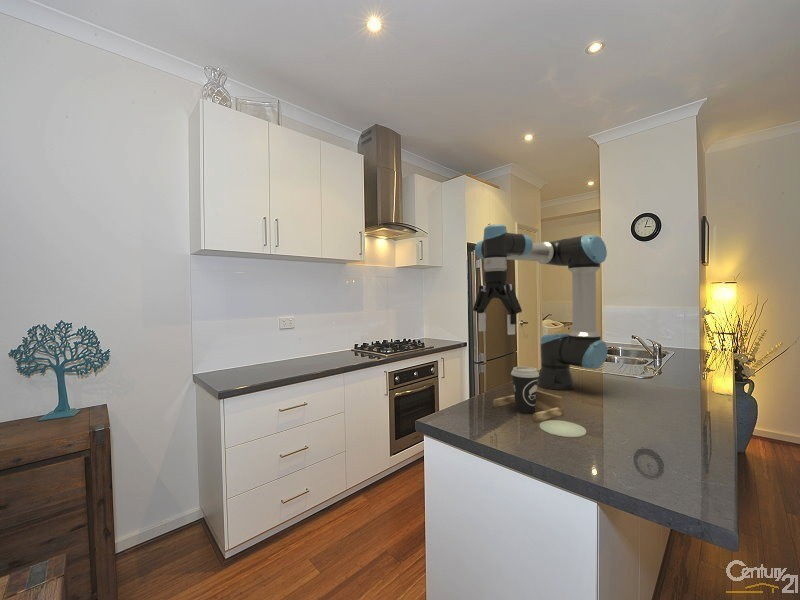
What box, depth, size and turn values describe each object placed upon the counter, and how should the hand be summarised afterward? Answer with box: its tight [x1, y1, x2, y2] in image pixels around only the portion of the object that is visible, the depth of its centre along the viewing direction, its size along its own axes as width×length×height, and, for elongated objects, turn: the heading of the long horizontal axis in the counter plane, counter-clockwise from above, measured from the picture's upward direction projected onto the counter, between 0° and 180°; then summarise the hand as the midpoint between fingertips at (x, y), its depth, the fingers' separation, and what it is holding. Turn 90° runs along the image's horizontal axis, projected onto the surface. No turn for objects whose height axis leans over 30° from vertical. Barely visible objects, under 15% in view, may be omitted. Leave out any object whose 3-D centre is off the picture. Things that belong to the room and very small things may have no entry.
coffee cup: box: [510, 366, 540, 415], centre depth 124 cm, size 10×10×15 cm
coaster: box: [539, 419, 587, 438], centre depth 107 cm, size 13×13×1 cm
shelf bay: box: [492, 389, 564, 423], centre depth 124 cm, size 14×19×6 cm
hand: (496, 332), depth 119 cm, fingers open, 13 cm apart
